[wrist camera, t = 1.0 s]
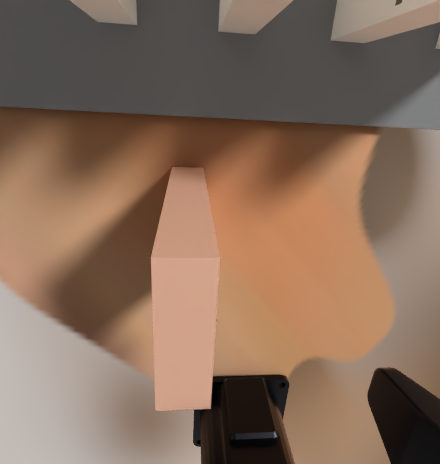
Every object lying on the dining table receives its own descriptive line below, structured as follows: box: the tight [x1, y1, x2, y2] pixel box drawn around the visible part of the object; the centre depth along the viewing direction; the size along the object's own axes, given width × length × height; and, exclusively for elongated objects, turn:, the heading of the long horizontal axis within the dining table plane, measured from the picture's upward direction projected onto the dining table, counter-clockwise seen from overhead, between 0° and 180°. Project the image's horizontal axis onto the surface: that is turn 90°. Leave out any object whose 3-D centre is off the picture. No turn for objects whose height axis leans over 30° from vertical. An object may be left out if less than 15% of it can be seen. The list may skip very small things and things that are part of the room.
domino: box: [151, 167, 220, 411], centre depth 13 cm, size 5×2×10 cm, turn 177°
